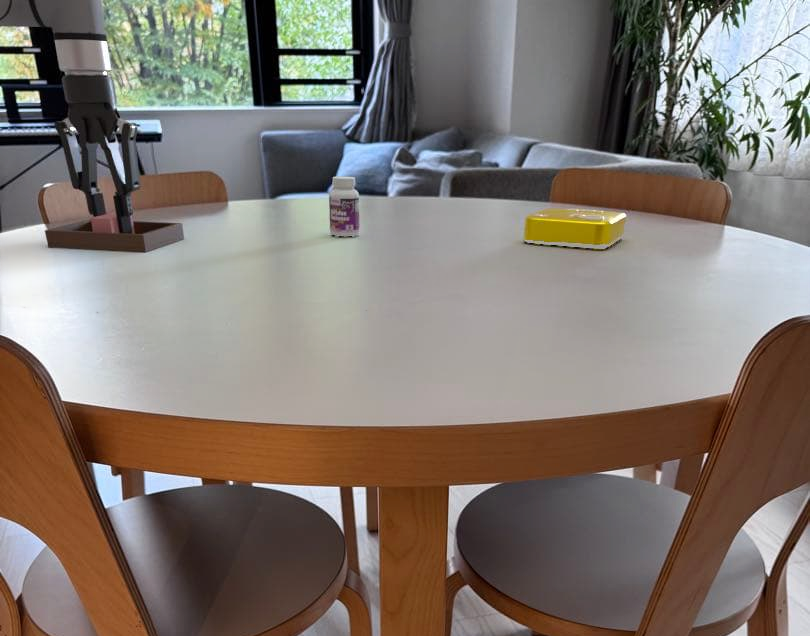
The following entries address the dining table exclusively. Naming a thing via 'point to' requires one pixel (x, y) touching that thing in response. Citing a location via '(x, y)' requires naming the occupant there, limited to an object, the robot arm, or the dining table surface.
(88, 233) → the tray
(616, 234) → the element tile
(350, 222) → the pill bottle
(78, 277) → the dining table surface
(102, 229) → the eraser
